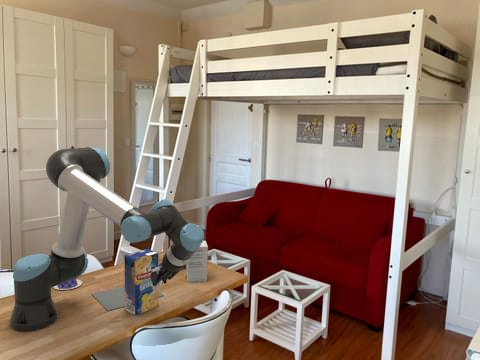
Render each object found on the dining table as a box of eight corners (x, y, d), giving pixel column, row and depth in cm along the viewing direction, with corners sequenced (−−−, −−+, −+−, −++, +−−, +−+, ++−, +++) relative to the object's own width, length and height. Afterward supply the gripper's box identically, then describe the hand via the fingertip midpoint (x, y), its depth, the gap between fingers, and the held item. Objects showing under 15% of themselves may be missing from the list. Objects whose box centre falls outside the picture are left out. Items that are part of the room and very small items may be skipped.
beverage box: (158, 305, 162) (158, 252, 159) (135, 315, 154) (135, 259, 150) (147, 300, 166) (147, 248, 163) (124, 309, 158) (124, 255, 155)
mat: (107, 311, 156) (107, 310, 156) (91, 294, 170) (91, 293, 170) (164, 296, 171) (164, 295, 171) (145, 282, 185) (145, 281, 185)
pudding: (70, 293, 172) (70, 281, 171) (46, 289, 175) (45, 277, 174) (87, 282, 183) (87, 271, 183) (65, 278, 186) (64, 268, 186)
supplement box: (186, 274, 196) (186, 240, 193) (205, 273, 197) (205, 239, 195) (187, 282, 186) (187, 246, 184) (207, 281, 188) (208, 246, 186)
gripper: (162, 270, 129) (140, 301, 145) (197, 263, 137) (173, 292, 153) (155, 250, 133) (134, 282, 148) (189, 243, 141) (166, 274, 156)
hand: (154, 287), depth 150 cm, fingers closed
